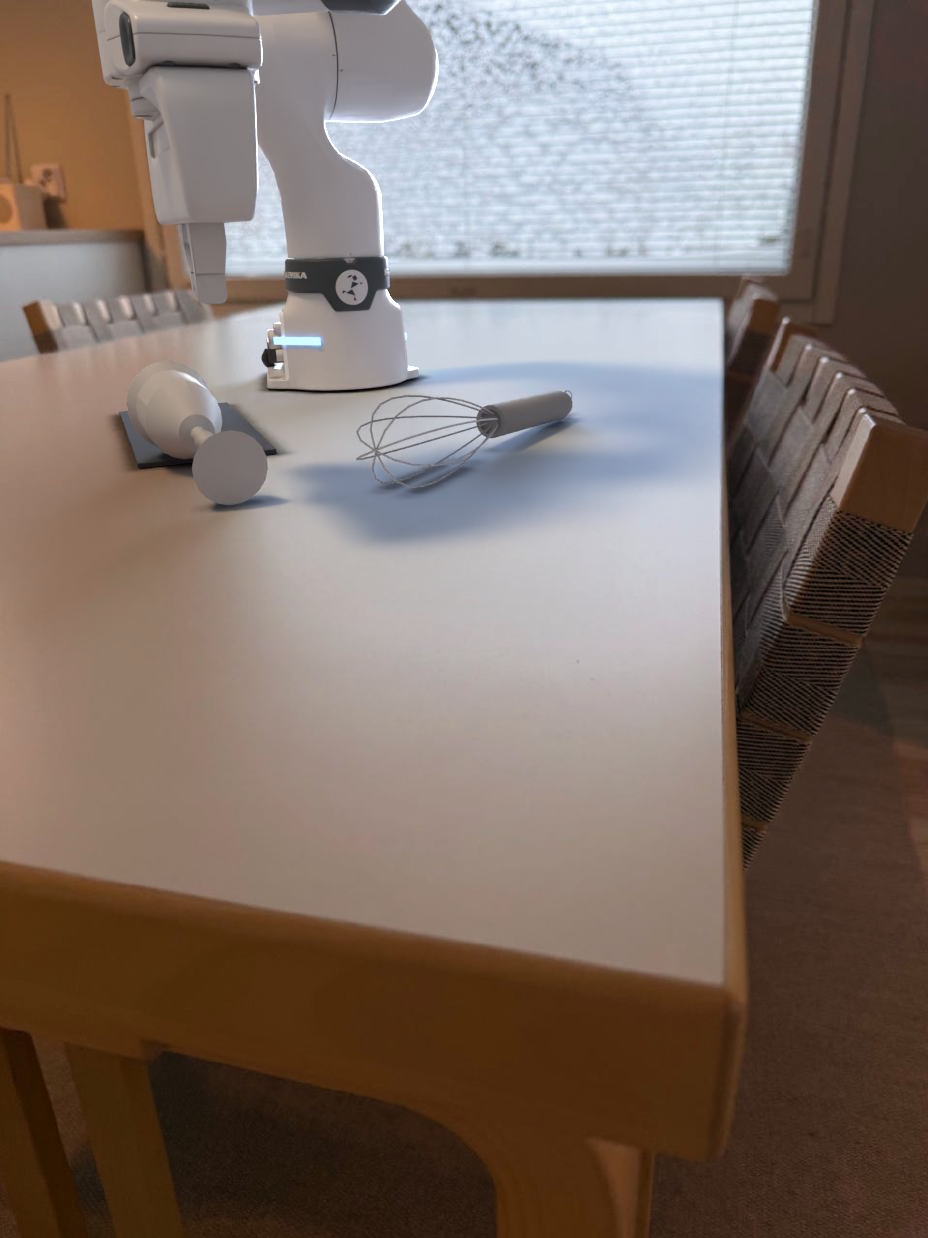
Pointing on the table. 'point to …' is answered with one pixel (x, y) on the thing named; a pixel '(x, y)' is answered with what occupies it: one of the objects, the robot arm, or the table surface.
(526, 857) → the table surface
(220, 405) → the mat
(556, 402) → the kitchen whisk
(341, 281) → the robot arm
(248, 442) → the chalice
